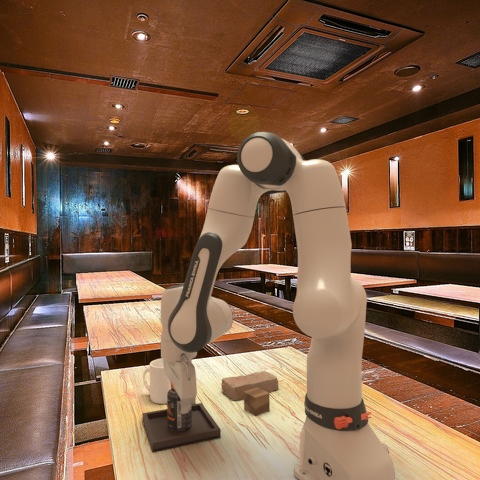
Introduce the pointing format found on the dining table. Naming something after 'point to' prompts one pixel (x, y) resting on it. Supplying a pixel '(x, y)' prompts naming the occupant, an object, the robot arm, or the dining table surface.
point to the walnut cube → (256, 401)
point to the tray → (167, 439)
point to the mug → (157, 382)
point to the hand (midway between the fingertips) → (179, 404)
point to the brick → (248, 384)
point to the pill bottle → (177, 412)
